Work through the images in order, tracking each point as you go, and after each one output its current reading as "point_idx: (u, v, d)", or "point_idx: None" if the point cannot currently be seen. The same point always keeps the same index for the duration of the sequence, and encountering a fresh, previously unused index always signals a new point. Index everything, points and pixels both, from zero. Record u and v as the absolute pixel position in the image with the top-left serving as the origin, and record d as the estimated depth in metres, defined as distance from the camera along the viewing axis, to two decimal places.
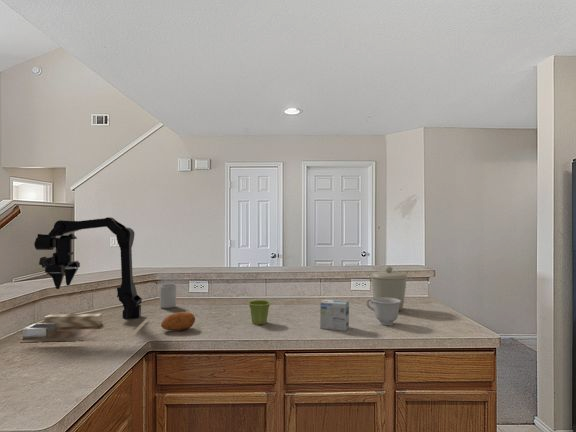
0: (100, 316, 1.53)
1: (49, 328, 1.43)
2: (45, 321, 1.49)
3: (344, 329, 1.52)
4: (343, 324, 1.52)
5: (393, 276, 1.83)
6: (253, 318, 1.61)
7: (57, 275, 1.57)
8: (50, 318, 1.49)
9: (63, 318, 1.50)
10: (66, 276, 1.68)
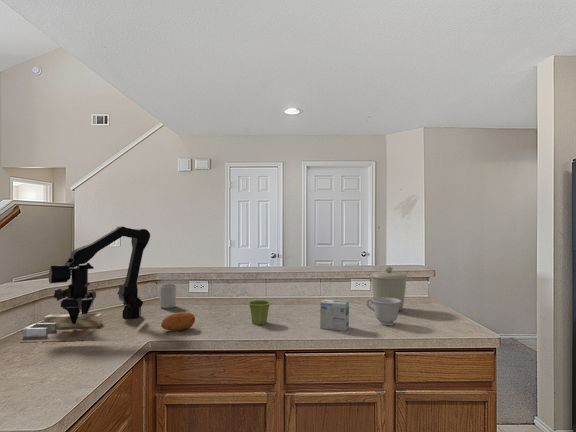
0: (100, 316, 1.53)
1: (49, 328, 1.43)
2: (45, 321, 1.49)
3: (344, 329, 1.52)
4: (343, 324, 1.52)
5: (393, 276, 1.83)
6: (253, 318, 1.61)
7: (73, 309, 1.47)
8: (50, 318, 1.49)
9: (63, 318, 1.50)
10: (82, 308, 1.57)
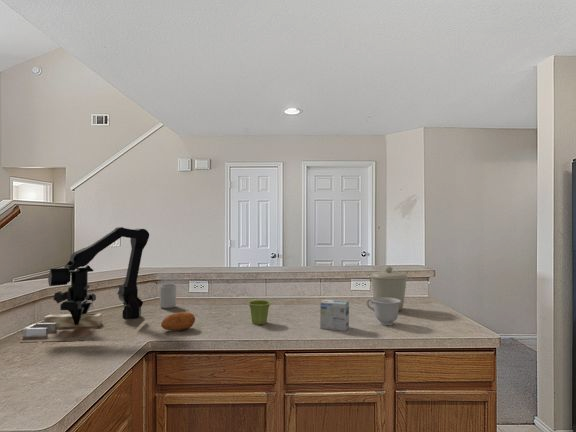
0: (100, 316, 1.53)
1: (49, 328, 1.43)
2: (45, 321, 1.49)
3: (344, 329, 1.52)
4: (343, 324, 1.52)
5: (393, 276, 1.83)
6: (253, 318, 1.61)
7: (76, 310, 1.49)
8: (50, 318, 1.49)
9: (63, 318, 1.50)
10: None
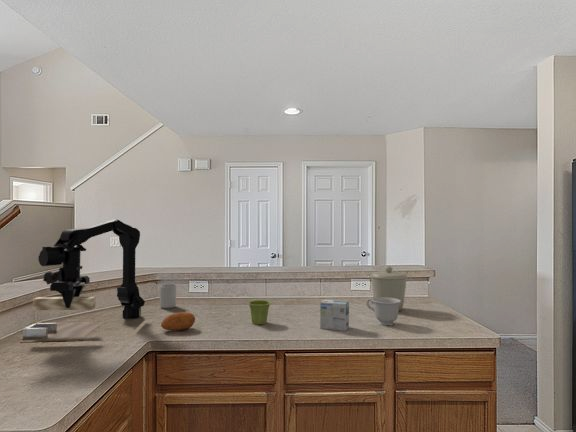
0: (93, 299, 1.43)
1: (49, 328, 1.43)
2: (34, 303, 1.39)
3: (344, 329, 1.52)
4: (343, 324, 1.52)
5: (393, 276, 1.83)
6: (253, 318, 1.61)
7: (67, 292, 1.39)
8: (39, 300, 1.39)
9: (53, 300, 1.40)
10: None
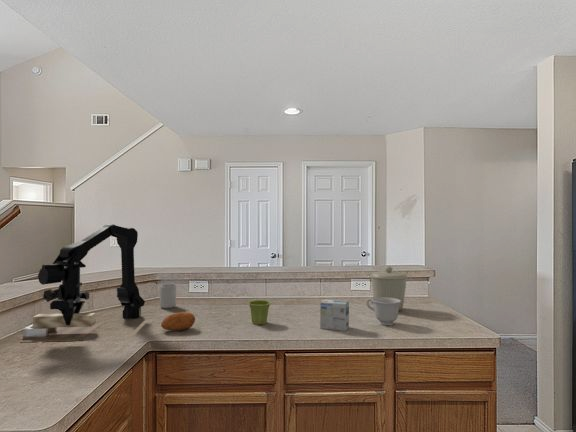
0: (93, 316, 1.43)
1: (49, 328, 1.43)
2: (34, 321, 1.38)
3: (344, 329, 1.52)
4: (343, 324, 1.52)
5: (393, 276, 1.83)
6: (253, 318, 1.61)
7: (67, 309, 1.38)
8: (39, 318, 1.39)
9: (53, 318, 1.39)
10: None
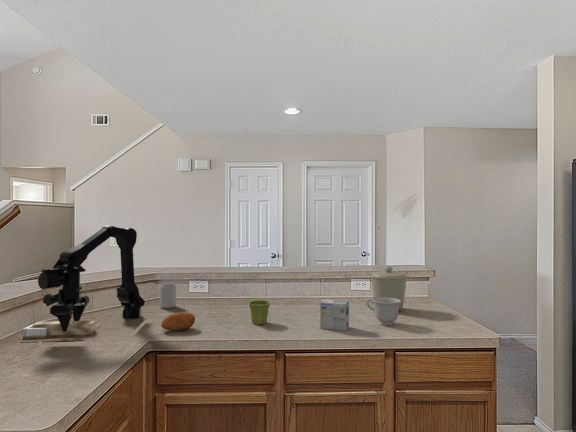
0: (93, 323, 1.43)
1: None
2: None
3: (344, 329, 1.52)
4: (343, 324, 1.52)
5: (393, 276, 1.83)
6: (253, 318, 1.61)
7: (64, 316, 1.36)
8: (39, 326, 1.39)
9: (53, 326, 1.39)
10: (74, 314, 1.46)
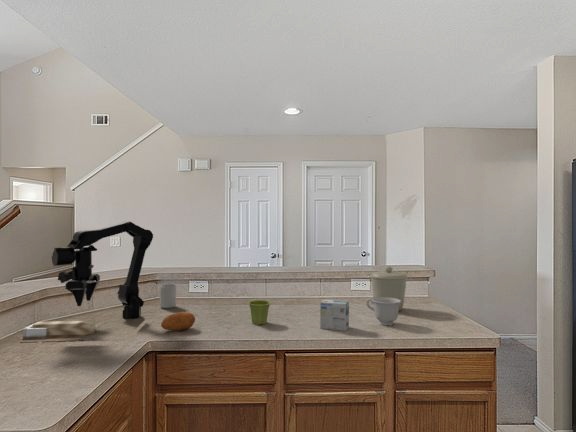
0: (93, 323, 1.43)
1: None
2: None
3: (344, 329, 1.52)
4: (343, 324, 1.52)
5: (393, 276, 1.83)
6: (253, 318, 1.61)
7: (78, 291, 1.45)
8: (39, 326, 1.39)
9: (53, 326, 1.39)
10: (86, 291, 1.56)
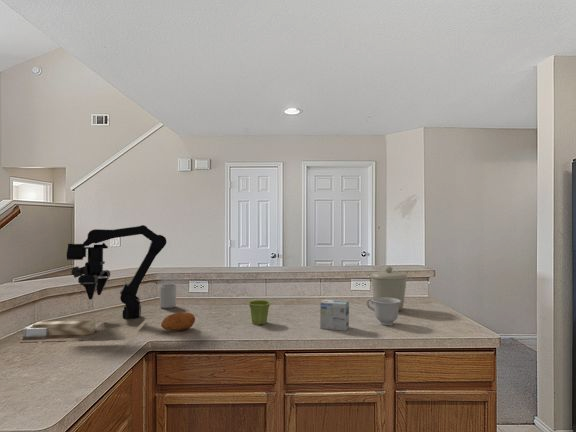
0: (93, 323, 1.43)
1: None
2: None
3: (344, 329, 1.52)
4: (343, 324, 1.52)
5: (393, 276, 1.83)
6: (253, 318, 1.61)
7: (90, 285, 1.55)
8: (39, 326, 1.39)
9: (53, 326, 1.39)
10: (97, 286, 1.66)
